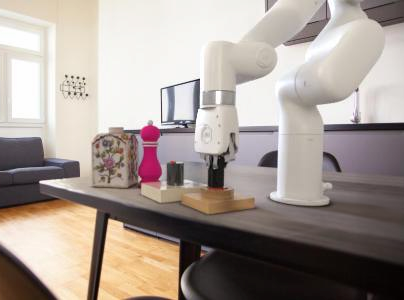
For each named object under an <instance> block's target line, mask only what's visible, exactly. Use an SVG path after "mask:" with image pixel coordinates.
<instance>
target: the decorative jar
mask: <svg viewBox="0 0 404 300" xmlns="http://www.w3.org/2000/svg"><path fill="white" fill-rule="evenodd" d="M90 145H91V148H90V149H91V151H90V154H91V157H90V158H91V159H90V160H91V163H90V164H91V186H92V187H94V188H116V189H128V188H130V187H132V186H133V185H135V184H137V183H139V178H140V176H139V175H138V169H139V166H140V163H139V161H140V159H139V140H138V138H137V136H136V134H135V133H132V132H125V127H124V126H109V127H108V131H107V132H104V133H103V132H100V133H96V135H95V136H94V137H93V139H92V141H91V142H90Z"/></svg>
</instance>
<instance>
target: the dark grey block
mask: <svg viewBox="0 0 404 300" xmlns="http://www.w3.org/2000/svg"><path fill="white" fill-rule="evenodd" d="M184 180H185V162H183V161H176V160H170V161H167V162H166V181H167V185H173V186H179V185H184Z"/></svg>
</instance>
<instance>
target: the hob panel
mask: <svg viewBox="0 0 404 300" xmlns="http://www.w3.org/2000/svg"><path fill="white" fill-rule="evenodd" d="M206 185H207V184H205V183H201V182H197V181H194V180H189V179H184V185H179V186H173V185H167V180H166V181H160V182H150V183H141V187H140V189H141V191H140V194H141V196H144V197H147V198H149V199H151V200H153V201H156V202H157V203H159V204H163V203H164V204H165V203H173V202H182V194H188V193H199V192H201V187H202V186H206Z"/></svg>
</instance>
